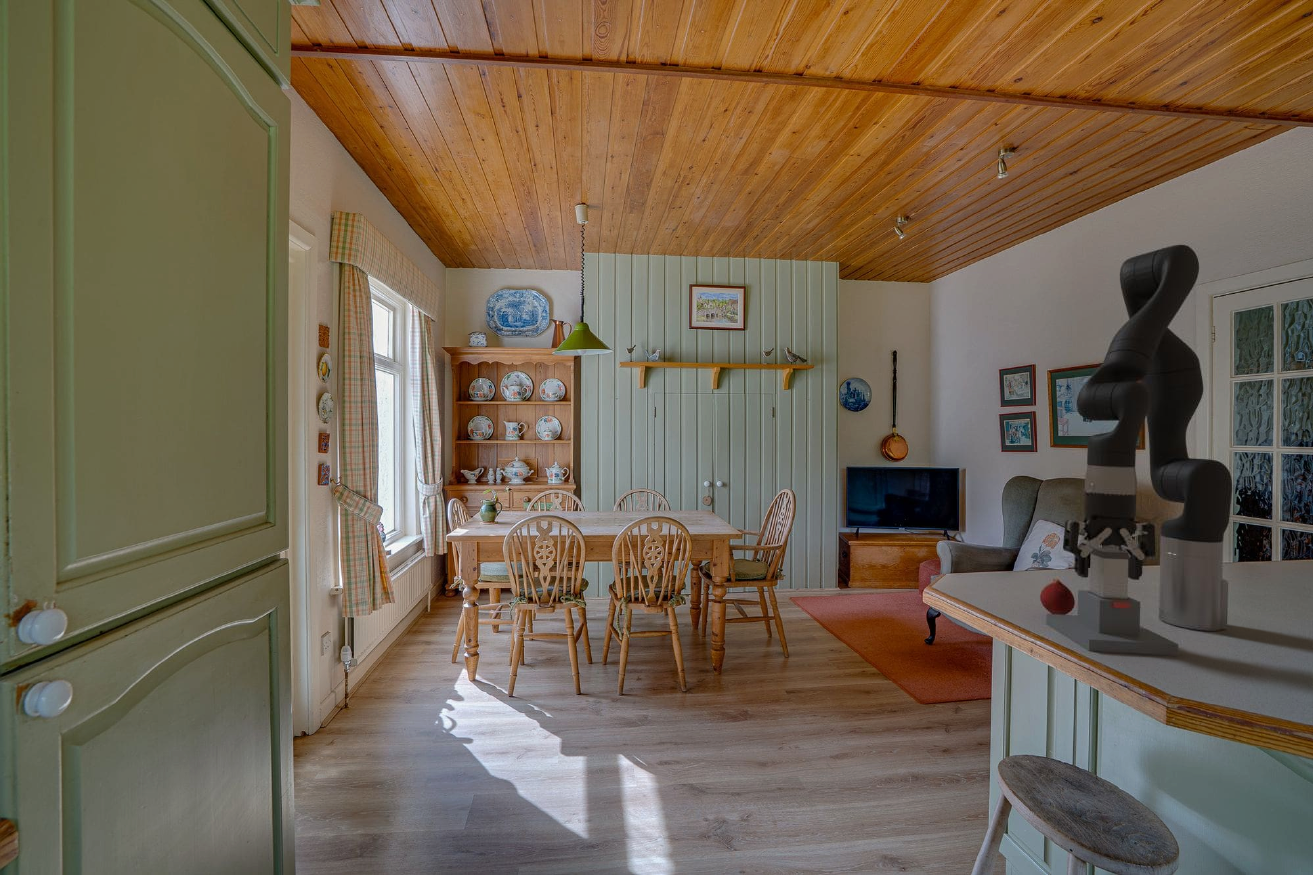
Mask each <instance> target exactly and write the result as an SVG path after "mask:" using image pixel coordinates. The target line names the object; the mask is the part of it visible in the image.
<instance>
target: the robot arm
mask: <svg viewBox="0 0 1313 875" xmlns="http://www.w3.org/2000/svg"><path fill="white" fill-rule="evenodd" d="M1199 272H1200V262H1199V258H1198V255H1197V254H1196V252H1195V251H1194V249H1192V248H1191V247H1190V246H1189V245H1185V244H1175V245H1171V246H1167V247H1166V246H1165V247H1163V248H1160V249H1157V250H1153V251H1150V252H1146V253H1142V254H1139V255H1136V256H1132V257H1130V258H1127V259H1126V260H1124V261H1123V262H1122V265H1121V266H1120V271H1119V284H1120V291H1121V292H1122V297H1123V298H1122V299H1123V301H1124V305H1125V308H1126V309H1125V310H1126V312H1127V316H1128V320H1127V321H1126V322H1125V323H1124V324H1123V325H1122V326H1121V327H1120V329H1118V331H1117V332H1116V333H1115V335H1114V336H1113V337H1112V340H1111V341H1110V344H1109V347H1108V349H1107V351H1106V355H1105V356H1104V360H1103V362H1102V364H1101V365H1099V367H1097V369H1096V370H1095V371H1094V372H1093V374H1092V375H1091V376H1090V377H1089V378H1088V379H1087V380H1086V382H1085V383H1084V385H1082V387H1081V388H1080V390H1079V391H1078V392H1079V393H1078V394H1077V398H1076V409H1077V411H1078V414H1079V415H1080V416H1081V417H1083V419H1085V420H1088V421H1096V422H1097V421H1098V422H1099V421H1102V422H1105V421H1106V422H1107V421H1109V422H1110V421H1112V422H1113V421H1116V422H1117V421H1118V422H1117V423H1116V424H1117V425H1115V427H1114V428H1113V430H1111V431H1109V432H1103V433H1097V434H1094V435H1091V436H1090V437H1089V438H1088V440H1087V450H1086V451H1087V452H1086V454H1087V455H1086V457H1087V458H1086V471H1085V477H1084V498H1083V499H1084V502H1083V503H1084V504H1083V505H1084V506H1083V512H1084V519H1083V521H1076V520H1073V519H1072V520H1071V519H1067V520H1064V521H1065V522H1064V533H1063V543H1062V549H1063V551H1065V552H1068V553H1071V554H1072V555H1074V572H1075V573H1076V574H1077V576H1079V577H1080V578H1084V579H1085V578H1089V566H1090V565H1089V558H1088V556H1089V555H1090V554H1091V551H1092V550H1093V549H1096V548H1099V546H1103V547H1107V546H1108V547H1109V546H1115V547H1121V548H1122V549H1123V550H1124V552H1127V553H1128V579H1131V580H1133V581H1137V580H1138V581H1139V580H1140V578H1141V577H1142V575H1143V564H1144V563H1143V562H1144V559H1146V558H1149V557H1151V558H1153V557H1155V556H1156V555H1157V553H1156V552H1157V551H1156V550H1157V549H1156V527H1155V524H1152V523H1147V522H1144V521H1140V522H1138V523H1136V522H1135V517H1136V516H1137V490H1138V486H1137V484H1138V479H1137V470H1136V458H1137V457H1136V453H1137V452H1136V451H1137V444H1138V440H1139V437H1140V434H1141V430H1142V427H1143V424H1144V423H1145V422H1144V421H1145V419H1146V423H1147V424H1146V425H1147V430H1148V443H1149V444H1148V445H1149V473H1150V482H1151V485H1152V488H1153V490H1154V492H1155V494H1156V495H1157V496H1158V497H1159V498H1161V499H1162V500H1164V501H1168V502H1172V503H1180V504H1183V510H1182V514H1180V515H1179V516H1178V517H1176V518H1173V519H1168V520H1164V521H1163V522H1162V523H1161V525H1160V544H1159V545H1160V547H1159V548H1160V552H1159V553H1160V555H1159V556H1160V557H1159V591H1158V592H1159V596H1158V597H1159V598H1158V619H1159V620H1160V621H1162V622H1164V623H1166V624H1170V625H1173V626H1176V627H1180V628H1185V629H1191V630H1197V631H1206V632H1207V631H1208V632H1209V631H1210V632H1212V631H1213V632H1214V631H1221V630H1228V612H1229V611H1228V605H1229V582H1228V581H1227V579H1224V578H1223V575H1224V574H1223V573H1224V570H1223V569H1224V566H1223V565H1224V538H1225V537H1224V535H1225V533H1226V531H1227V528H1228V527H1229V523H1230V514H1231V505H1232V496H1233V480H1232V479H1233V478H1232V475H1231V472H1230V470H1229V469H1228V467H1227V466H1226V465H1225V464H1224V463H1223V462H1221V461H1219V460H1215V459H1211V458H1210V459H1209V458H1208V459H1207V458H1195V457H1194V458H1193V457H1191V458H1189V452H1188V448H1187V430H1188V426H1189V423H1190V422H1191V420H1192V418H1193V416H1194V414H1195V412H1196V411H1197V409H1198V406H1199V405H1200V403H1201V400H1202V398H1203V394H1204V381H1203V376H1202V375H1203V374H1202V368H1201V363H1200V359H1199V357H1198V355H1197V354H1196V352H1195V351H1194V350H1193V349H1192V348H1191V347H1190V346H1189V345H1188V344H1187V343H1186V342H1184V340H1182V339H1181V338H1180V337H1179V336H1178V335H1176V334H1175V333H1174V332H1173V331H1172V330H1171V329H1170V328H1169V326H1170V324H1171V323H1172V321H1173V319H1174V318H1175V317H1176V315H1177V313H1178V312H1179V310H1180V309H1181V307H1182V306H1183V304H1184V302H1185V301H1186V299H1187V298H1188V296H1189V295H1190V293H1191V291H1192V290H1193V288H1194V286H1195V285H1196V282H1197V279H1198V277H1199ZM1082 530H1084V531H1085V534H1083V536H1082V538H1081V539H1080V540H1079V537H1080V533H1082ZM1135 532H1136V534H1138V543H1137V542H1136V541H1135V539H1133V537H1132V536H1133V535H1134V533H1135Z"/></svg>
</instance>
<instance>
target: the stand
mask: <svg viewBox="0 0 1313 875" xmlns="http://www.w3.org/2000/svg"><path fill="white" fill-rule="evenodd" d="M1077 593H1078V594H1077V615H1073V614H1066V615H1057V614H1051V613H1046V615H1045V619H1046V620H1045V622H1046V623H1045V624H1046V625H1047V626H1049V627H1050V628H1052V629H1054V630H1055V631H1057V632H1059V633H1060V634H1062V635H1063V636H1064V637H1066V638H1068V639H1069V640H1071V641H1072V642H1075V643H1076V644H1078V645H1079V646H1080V647H1082V648H1084V649H1085V650H1086V651H1088V652H1103V653H1105V652H1106V653H1124V654H1135V655H1136V654H1138V655H1141V654H1142V655H1153V656H1155V655H1157V656H1173V657H1174V656H1175V657H1179V644H1178V643H1177V642H1174V641H1172V640H1170V639H1169V638H1166V637H1164V636H1162V635H1160V634H1158V633H1156V632H1153V631H1151V630H1150V629H1147V627H1143V626H1141V601H1139V600H1136V599H1134V598H1132V597H1130V596H1127V600H1117V599H1102V598H1100V597H1097V596H1095V595H1093V594H1091V593H1090V590H1089V589H1088V590H1086V589H1085V590H1084V589H1078V590H1077Z"/></svg>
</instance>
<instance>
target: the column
mask: <svg viewBox="0 0 1313 875" xmlns="http://www.w3.org/2000/svg"><path fill="white" fill-rule="evenodd" d="M1128 558H1129V555H1128V553H1127V552H1126V551H1125V550H1124V551H1123V550H1120V549H1117V548H1114V547H1113V548H1111V547H1097V548H1096V549H1093V550H1092V551H1091V552H1090V565H1089V567H1090V569H1089V574H1090V575H1089V591H1090V593H1091V594H1093V595H1095V596H1097V597H1100V598H1102V599H1117V600H1127V597H1128V593H1129V592H1128V590H1129V589H1128V587H1129V584H1128V583H1129V582H1128V581H1129V578H1128Z"/></svg>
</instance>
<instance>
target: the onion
mask: <svg viewBox="0 0 1313 875" xmlns="http://www.w3.org/2000/svg"><path fill="white" fill-rule="evenodd" d="M1052 581H1053V582H1051V583H1049V584H1047V585H1046V586H1044V588H1043V589H1042V590H1041V592H1040V595H1039V599H1040V602H1041V604H1042V606H1043V608H1044V609H1045V610H1046V611H1048V612H1049V614H1057V615H1069V613H1070V612H1072V611H1073V609H1074V607H1075V605H1076V604H1075V603H1076V602H1075V597H1074V594H1073V593H1072V591H1071V589H1069V587H1067V585H1065V584H1063V583H1062V581H1060V579H1058V578H1053V579H1052Z"/></svg>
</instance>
